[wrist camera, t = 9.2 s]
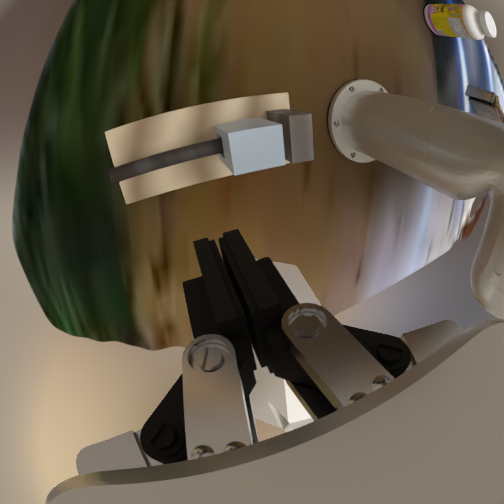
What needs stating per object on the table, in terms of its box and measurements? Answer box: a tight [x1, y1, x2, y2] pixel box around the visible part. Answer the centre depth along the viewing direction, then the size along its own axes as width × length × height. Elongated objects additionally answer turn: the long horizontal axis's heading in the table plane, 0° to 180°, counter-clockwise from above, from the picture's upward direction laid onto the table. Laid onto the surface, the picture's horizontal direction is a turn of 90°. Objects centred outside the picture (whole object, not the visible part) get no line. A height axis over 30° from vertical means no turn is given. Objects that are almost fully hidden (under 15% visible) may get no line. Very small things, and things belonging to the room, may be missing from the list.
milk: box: [250, 258, 321, 432], centre depth 33 cm, size 12×12×26 cm
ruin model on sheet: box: [465, 86, 504, 124], centre depth 34 cm, size 11×3×10 cm, turn 66°
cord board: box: [105, 92, 314, 205], centre depth 26 cm, size 21×9×7 cm, turn 97°
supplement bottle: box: [424, 4, 496, 40], centre depth 20 cm, size 7×7×13 cm
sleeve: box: [214, 117, 286, 176], centre depth 26 cm, size 5×4×6 cm
